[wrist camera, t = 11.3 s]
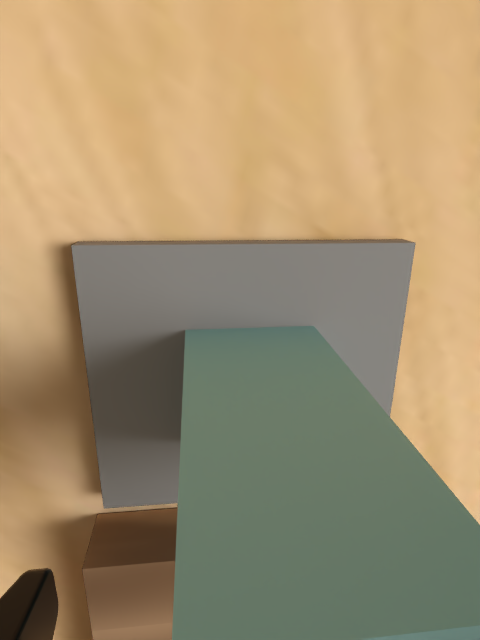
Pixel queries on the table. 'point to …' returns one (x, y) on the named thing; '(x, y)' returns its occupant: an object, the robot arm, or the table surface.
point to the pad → (218, 313)
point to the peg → (309, 504)
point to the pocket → (131, 575)
